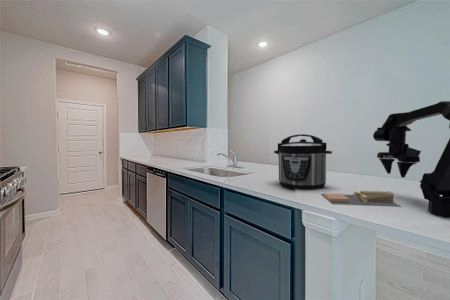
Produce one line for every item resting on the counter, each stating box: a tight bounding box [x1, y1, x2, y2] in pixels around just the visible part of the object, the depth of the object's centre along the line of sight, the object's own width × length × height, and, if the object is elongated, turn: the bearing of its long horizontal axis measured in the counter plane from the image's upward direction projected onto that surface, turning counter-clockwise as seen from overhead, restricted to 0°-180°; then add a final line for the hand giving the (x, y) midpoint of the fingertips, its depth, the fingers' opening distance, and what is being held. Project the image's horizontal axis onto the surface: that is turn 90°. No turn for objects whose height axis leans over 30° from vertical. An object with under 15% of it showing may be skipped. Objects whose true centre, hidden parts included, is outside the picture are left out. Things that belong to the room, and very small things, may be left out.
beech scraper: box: [353, 190, 395, 204], centre depth 89 cm, size 9×13×4 cm
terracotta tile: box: [323, 192, 349, 203], centre depth 91 cm, size 8×2×8 cm
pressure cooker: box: [273, 134, 333, 190], centre depth 121 cm, size 30×28×32 cm
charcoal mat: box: [320, 193, 403, 208], centre depth 91 cm, size 16×27×1 cm, turn 81°
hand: (395, 175), depth 91 cm, fingers open, 9 cm apart
